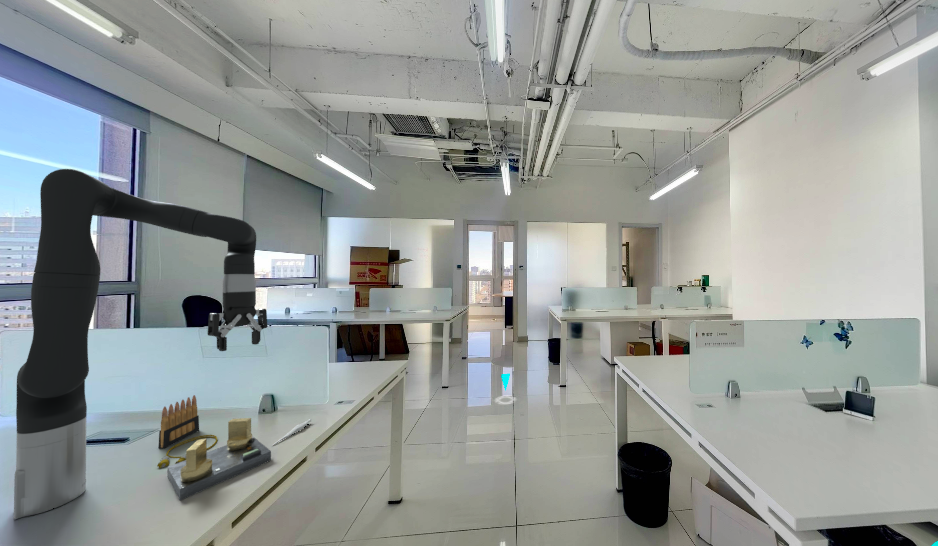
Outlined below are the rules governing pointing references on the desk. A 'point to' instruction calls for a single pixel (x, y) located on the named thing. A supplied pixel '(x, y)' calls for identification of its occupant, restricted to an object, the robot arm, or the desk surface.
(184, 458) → the extension cord
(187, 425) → the ammunition clip
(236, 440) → the knob outer
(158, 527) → the desk surface
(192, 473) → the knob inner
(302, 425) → the stylus pen
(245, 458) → the base
